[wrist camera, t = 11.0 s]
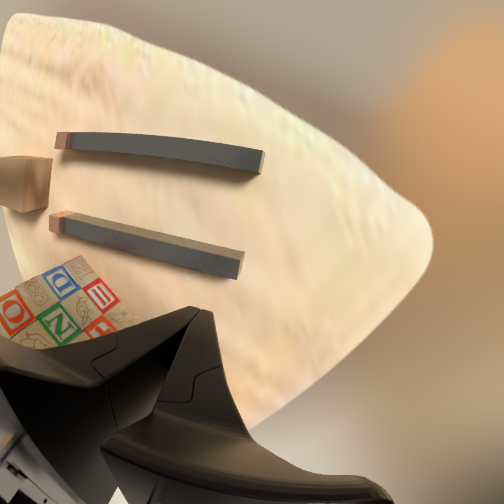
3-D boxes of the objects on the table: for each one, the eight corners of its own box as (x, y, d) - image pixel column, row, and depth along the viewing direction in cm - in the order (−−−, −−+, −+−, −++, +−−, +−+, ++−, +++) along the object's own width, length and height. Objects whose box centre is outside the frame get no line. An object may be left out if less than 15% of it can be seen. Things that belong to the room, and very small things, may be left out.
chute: (240, 270, 21) (235, 282, 19) (65, 225, 22) (49, 230, 20) (265, 153, 19) (262, 149, 16) (74, 133, 20) (57, 132, 17)
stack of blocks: (233, 399, 26) (206, 499, 14) (196, 417, 27) (165, 502, 15) (81, 253, 23) (-14, 302, 11) (61, 289, 25) (-17, 340, 13)
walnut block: (49, 206, 22) (22, 212, 18) (21, 198, 22) (-4, 203, 19) (54, 158, 21) (26, 159, 17) (24, 155, 21) (-1, 157, 17)
